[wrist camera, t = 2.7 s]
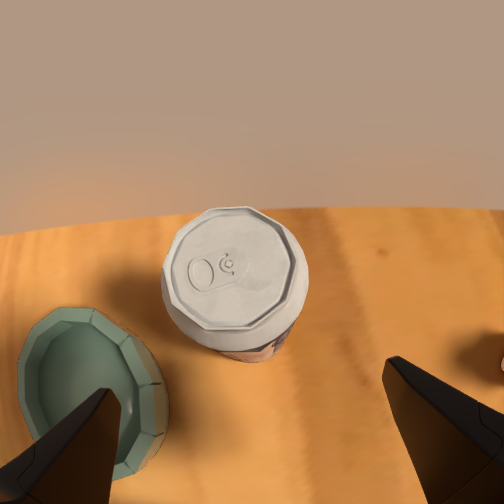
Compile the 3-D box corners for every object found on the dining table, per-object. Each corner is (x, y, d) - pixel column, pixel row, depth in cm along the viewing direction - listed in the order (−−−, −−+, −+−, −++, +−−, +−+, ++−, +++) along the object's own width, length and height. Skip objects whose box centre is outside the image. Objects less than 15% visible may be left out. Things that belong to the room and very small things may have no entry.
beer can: (296, 349, 18) (340, 311, 7) (229, 372, 18) (172, 369, 7) (272, 286, 20) (276, 176, 9) (208, 308, 20) (139, 222, 9)
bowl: (129, 500, 13) (113, 512, 11) (23, 402, 16) (3, 401, 14) (201, 375, 18) (190, 375, 15) (76, 288, 21) (57, 277, 18)
